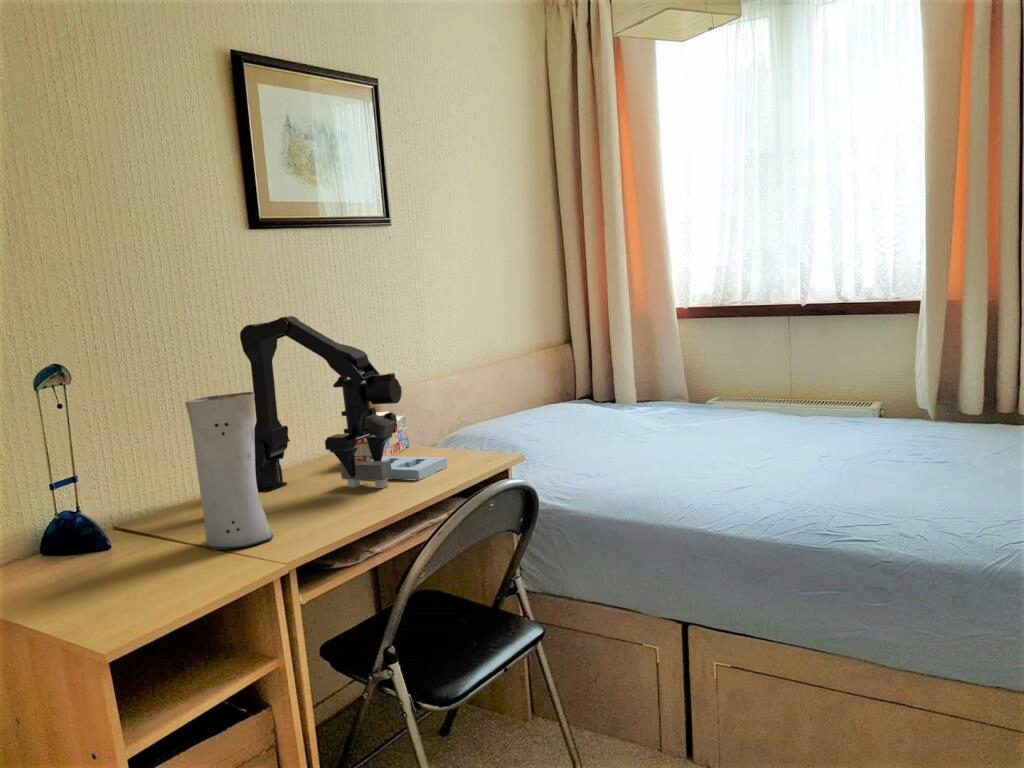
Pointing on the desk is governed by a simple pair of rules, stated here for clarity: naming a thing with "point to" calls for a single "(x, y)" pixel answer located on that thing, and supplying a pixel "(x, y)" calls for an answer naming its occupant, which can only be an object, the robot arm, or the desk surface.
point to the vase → (228, 470)
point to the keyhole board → (414, 466)
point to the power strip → (369, 473)
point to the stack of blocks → (391, 446)
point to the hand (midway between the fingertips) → (365, 471)
